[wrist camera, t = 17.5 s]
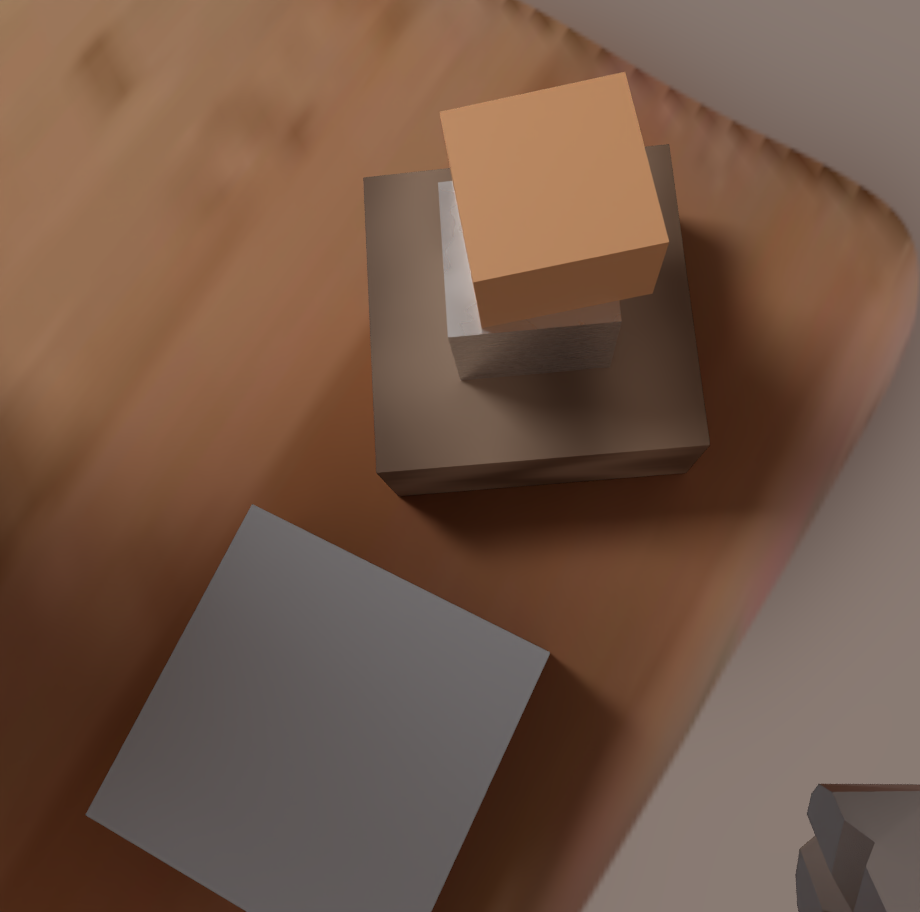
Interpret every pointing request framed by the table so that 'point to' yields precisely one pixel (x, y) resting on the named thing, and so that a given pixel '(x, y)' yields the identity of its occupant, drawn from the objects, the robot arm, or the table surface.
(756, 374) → the table surface
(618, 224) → the cover
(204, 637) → the stand
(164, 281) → the table surface
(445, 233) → the housing base
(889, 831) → the robot arm
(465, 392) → the stand
